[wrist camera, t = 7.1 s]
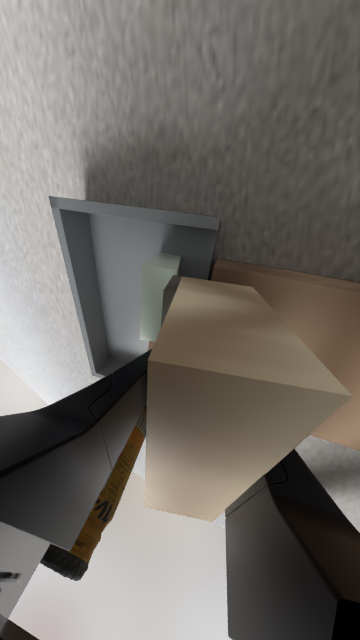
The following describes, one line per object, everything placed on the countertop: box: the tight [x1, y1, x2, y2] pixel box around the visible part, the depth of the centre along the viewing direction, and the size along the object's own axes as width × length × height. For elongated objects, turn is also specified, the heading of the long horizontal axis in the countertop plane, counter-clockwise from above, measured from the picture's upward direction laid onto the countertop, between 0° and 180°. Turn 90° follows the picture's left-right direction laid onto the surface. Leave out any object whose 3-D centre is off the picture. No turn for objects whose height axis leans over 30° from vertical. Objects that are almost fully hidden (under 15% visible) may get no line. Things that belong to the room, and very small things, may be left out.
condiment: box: [40, 404, 147, 581], centre depth 16 cm, size 7×8×12 cm
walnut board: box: [211, 259, 360, 451], centre depth 10 cm, size 15×10×3 cm, turn 82°
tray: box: [49, 196, 220, 378], centre depth 12 cm, size 9×14×2 cm, turn 172°
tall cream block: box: [145, 275, 352, 522], centre depth 7 cm, size 3×9×5 cm, turn 173°
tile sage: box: [140, 252, 181, 342], centre depth 9 cm, size 4×4×2 cm
